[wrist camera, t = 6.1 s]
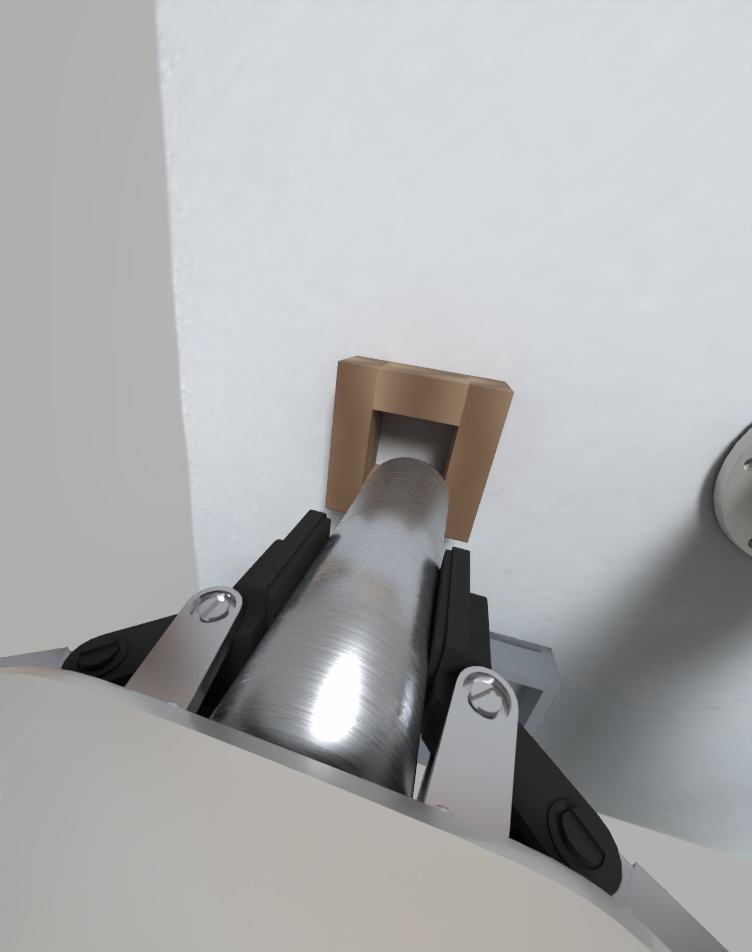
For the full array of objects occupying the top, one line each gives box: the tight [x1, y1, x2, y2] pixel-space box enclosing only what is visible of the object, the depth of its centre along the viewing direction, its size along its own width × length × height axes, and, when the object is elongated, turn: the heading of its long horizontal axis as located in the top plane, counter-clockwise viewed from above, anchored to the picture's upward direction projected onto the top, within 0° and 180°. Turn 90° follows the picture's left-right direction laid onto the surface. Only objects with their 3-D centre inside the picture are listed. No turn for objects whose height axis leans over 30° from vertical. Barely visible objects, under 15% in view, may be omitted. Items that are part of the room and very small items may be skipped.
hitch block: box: [325, 356, 514, 543], centre depth 23 cm, size 10×10×4 cm
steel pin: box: [209, 457, 449, 799], centre depth 10 cm, size 6×6×14 cm
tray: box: [417, 632, 562, 766], centre depth 33 cm, size 16×16×4 cm
